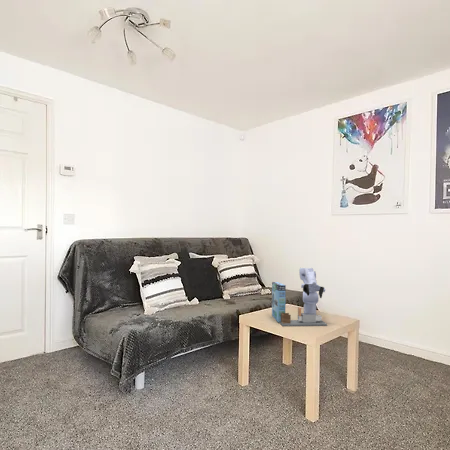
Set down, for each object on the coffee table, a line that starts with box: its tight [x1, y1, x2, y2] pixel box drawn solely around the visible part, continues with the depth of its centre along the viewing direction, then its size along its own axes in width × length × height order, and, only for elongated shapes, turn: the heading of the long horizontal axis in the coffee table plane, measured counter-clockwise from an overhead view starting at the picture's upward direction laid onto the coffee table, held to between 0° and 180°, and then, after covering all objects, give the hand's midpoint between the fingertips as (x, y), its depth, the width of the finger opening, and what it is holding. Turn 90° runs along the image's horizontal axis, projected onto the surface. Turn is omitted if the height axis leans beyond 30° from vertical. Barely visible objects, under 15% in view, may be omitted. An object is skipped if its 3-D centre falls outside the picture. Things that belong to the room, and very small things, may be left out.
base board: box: [279, 319, 328, 327], centre depth 202 cm, size 10×27×1 cm, turn 93°
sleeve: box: [301, 312, 317, 323], centre depth 202 cm, size 5×8×5 cm, turn 93°
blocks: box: [297, 306, 323, 321], centre depth 203 cm, size 3×14×8 cm, turn 93°
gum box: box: [271, 281, 287, 324], centre depth 214 cm, size 20×5×23 cm, turn 3°
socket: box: [281, 312, 292, 323], centre depth 202 cm, size 5×5×5 cm
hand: (314, 295), depth 199 cm, fingers open, 7 cm apart
